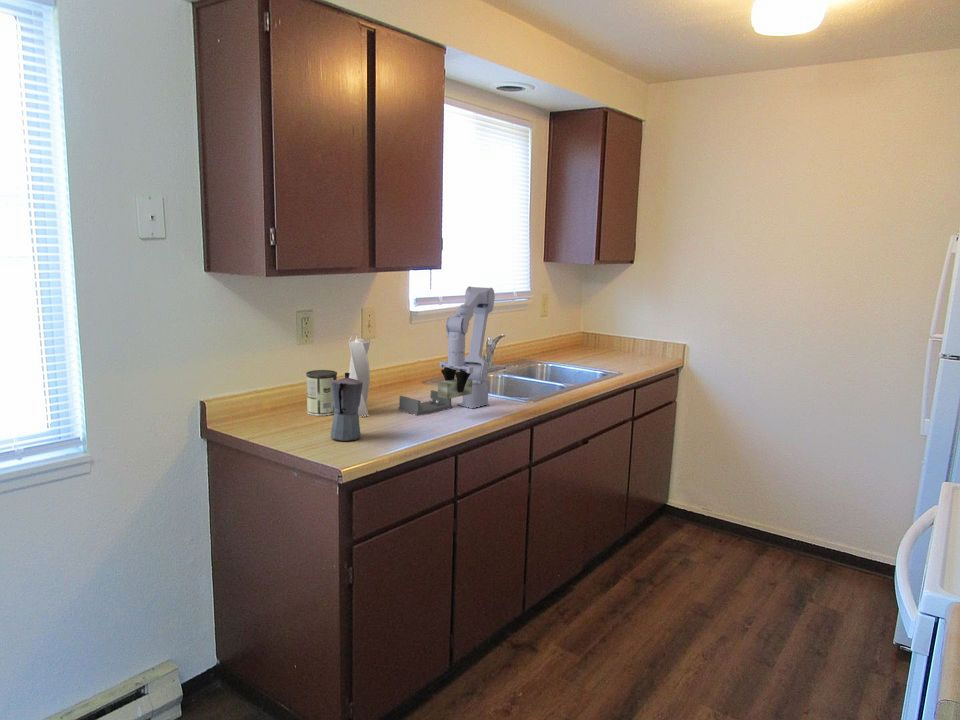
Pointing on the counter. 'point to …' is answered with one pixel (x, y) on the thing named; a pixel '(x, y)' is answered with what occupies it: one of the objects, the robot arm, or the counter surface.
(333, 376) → the coffee can
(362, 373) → the skyscraper
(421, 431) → the counter surface
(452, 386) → the olive green rectangular block
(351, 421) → the moka pot
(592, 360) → the counter surface
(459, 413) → the counter surface
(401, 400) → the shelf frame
